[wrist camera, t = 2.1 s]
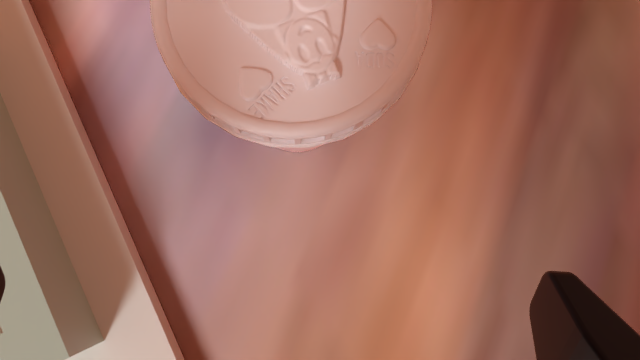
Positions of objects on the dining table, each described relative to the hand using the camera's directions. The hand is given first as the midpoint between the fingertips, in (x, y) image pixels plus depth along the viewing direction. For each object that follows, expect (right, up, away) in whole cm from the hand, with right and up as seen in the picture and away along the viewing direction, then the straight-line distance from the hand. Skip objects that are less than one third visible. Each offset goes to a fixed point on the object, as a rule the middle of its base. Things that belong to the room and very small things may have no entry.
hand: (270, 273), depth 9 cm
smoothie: (0, +4, +13) cm, 14 cm away
